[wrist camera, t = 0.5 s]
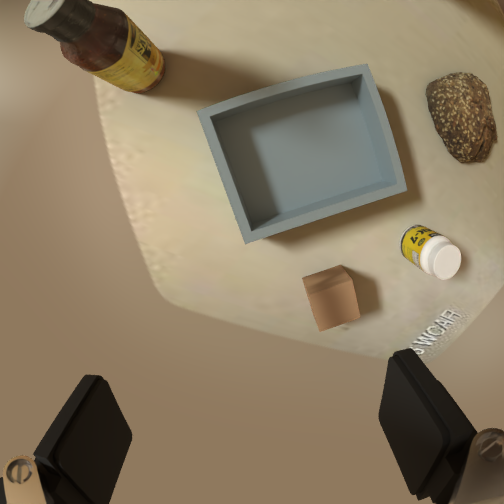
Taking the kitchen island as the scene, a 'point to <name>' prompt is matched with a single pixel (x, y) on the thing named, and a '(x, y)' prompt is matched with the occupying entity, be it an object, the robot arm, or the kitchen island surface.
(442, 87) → the bread roll
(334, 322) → the walnut block
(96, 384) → the robot arm
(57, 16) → the sauce bottle
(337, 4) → the kitchen island surface
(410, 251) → the supplement bottle
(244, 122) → the tote
